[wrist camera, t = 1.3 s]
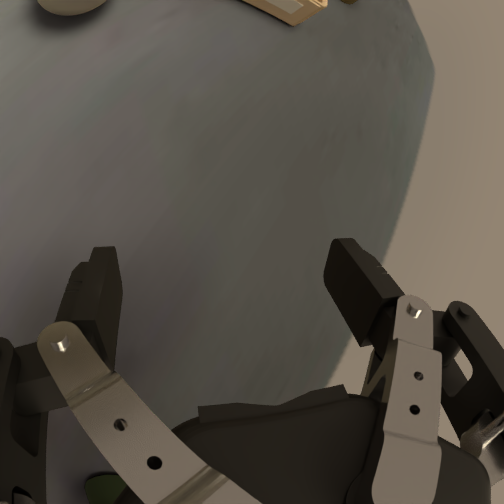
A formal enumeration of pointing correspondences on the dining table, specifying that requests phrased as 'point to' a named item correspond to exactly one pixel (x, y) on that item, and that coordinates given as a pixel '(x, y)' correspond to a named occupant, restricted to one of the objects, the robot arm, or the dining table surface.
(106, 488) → the trophy cup
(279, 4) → the carton
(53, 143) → the dining table surface
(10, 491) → the robot arm
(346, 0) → the cork
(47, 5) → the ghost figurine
